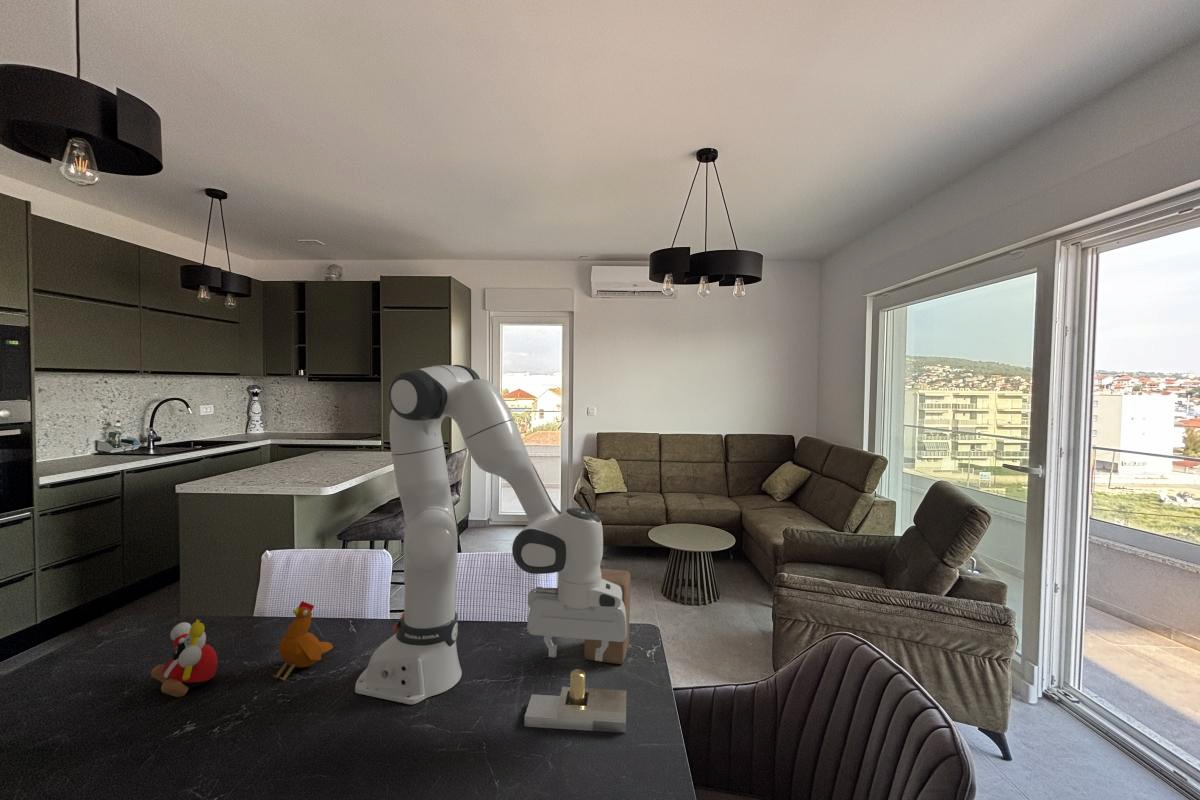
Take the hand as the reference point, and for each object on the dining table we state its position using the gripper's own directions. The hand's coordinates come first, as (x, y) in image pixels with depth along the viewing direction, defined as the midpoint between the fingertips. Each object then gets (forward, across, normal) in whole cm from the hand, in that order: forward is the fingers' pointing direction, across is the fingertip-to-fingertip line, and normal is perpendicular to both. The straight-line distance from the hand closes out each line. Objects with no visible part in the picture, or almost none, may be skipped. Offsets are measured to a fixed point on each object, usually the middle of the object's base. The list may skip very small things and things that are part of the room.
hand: (575, 657), depth 99 cm
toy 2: (+14, -65, +12) cm, 68 cm away
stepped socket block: (+12, +1, 0) cm, 12 cm away
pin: (+12, +1, 0) cm, 12 cm away
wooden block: (+12, +6, +25) cm, 28 cm away
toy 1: (+15, -85, +2) cm, 86 cm away
